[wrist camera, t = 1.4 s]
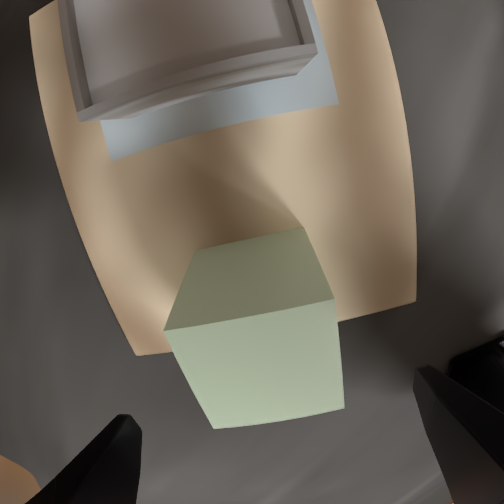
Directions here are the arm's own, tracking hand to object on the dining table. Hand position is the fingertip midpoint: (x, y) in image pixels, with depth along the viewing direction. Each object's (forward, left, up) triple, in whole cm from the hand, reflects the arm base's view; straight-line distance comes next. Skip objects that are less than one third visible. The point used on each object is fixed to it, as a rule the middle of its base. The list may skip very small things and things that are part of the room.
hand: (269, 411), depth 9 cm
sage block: (0, 0, -7) cm, 7 cm away
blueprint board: (0, -7, -8) cm, 11 cm away
